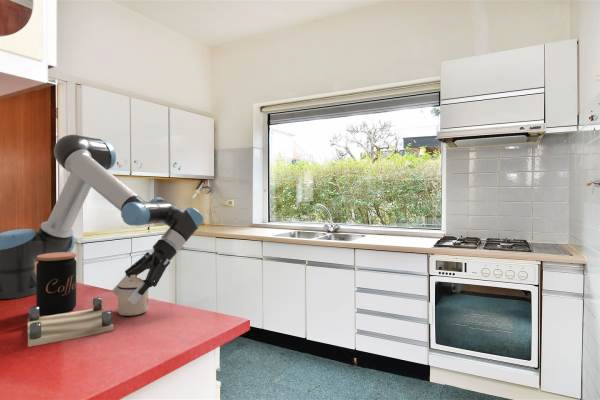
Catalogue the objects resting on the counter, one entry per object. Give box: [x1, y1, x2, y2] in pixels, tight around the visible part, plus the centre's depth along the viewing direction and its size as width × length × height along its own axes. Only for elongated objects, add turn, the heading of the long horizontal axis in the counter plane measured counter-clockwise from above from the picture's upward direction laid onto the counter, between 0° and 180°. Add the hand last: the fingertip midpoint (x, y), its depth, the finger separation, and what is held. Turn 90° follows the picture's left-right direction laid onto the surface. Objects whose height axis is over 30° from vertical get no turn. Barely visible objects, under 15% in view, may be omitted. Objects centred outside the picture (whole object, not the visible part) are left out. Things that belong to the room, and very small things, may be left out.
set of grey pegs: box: [28, 296, 112, 340], centre depth 103 cm, size 18×18×4 cm
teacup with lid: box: [117, 275, 149, 317], centre depth 117 cm, size 12×9×12 cm
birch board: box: [27, 307, 115, 348], centre depth 103 cm, size 19×19×2 cm
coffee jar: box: [35, 251, 77, 316], centre depth 117 cm, size 11×11×18 cm
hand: (122, 298), depth 116 cm, fingers closed on teacup with lid, 12 cm apart
